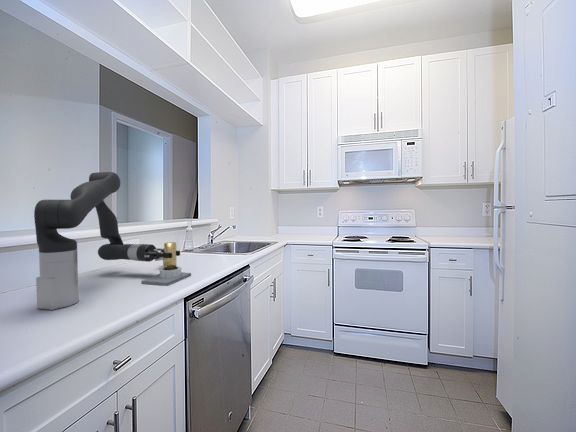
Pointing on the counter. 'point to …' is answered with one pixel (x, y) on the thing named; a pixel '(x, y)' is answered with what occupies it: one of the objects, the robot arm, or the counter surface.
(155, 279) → the plate
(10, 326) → the counter surface
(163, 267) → the pipe connector
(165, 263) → the cylinder
